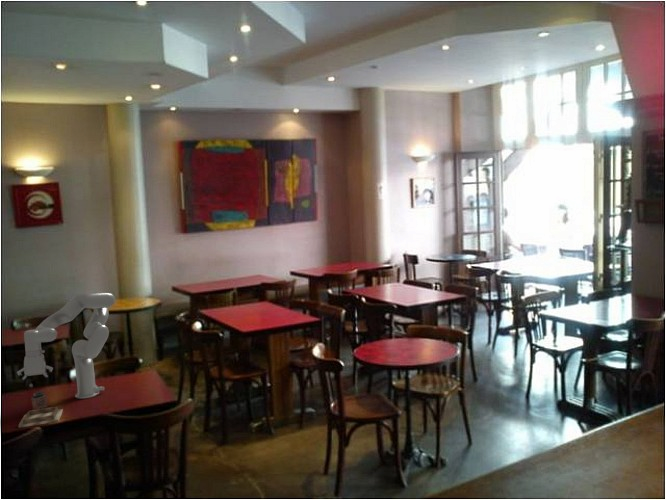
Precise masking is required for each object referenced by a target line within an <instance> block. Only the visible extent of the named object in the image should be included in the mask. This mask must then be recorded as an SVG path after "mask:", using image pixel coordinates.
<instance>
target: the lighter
mask: <svg viewBox="0 0 666 500" xmlns="http://www.w3.org/2000/svg"><path fill="white" fill-rule="evenodd" d="M32 395H33V397H31V398H30V399H31V404H32V410H38V409H45V408H49V406H48V400H47V399H48V398H47V396H48V395H47V394H46V393H45V390H43V389H42V390H40V391H36V392H35V393H33V394H32Z"/></svg>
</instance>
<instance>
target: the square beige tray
mask: <svg viewBox="0 0 666 500" xmlns="http://www.w3.org/2000/svg"><path fill="white" fill-rule="evenodd" d="M63 412H64V409H63V408H62V409H61V408H60V409H59V407H58V406H53V407H48V408H45V409H38V410H33V409H32V410H28V411H27V413H26V414H24V415H23V417H22V418H21V420H20V422H19V424H18V428H19V429H20V428H26V427H27V428H28V427H32V426H33V427H34V426H38V425H40V426H41V425H45V424H52V423H58V422H59V421H60V419H61V417H62V414H63Z"/></svg>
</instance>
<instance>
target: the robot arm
mask: <svg viewBox="0 0 666 500" xmlns="http://www.w3.org/2000/svg"><path fill="white" fill-rule="evenodd" d="M115 303H116V296H115V295H114V294H113V293H110V292H104V291H103V292H102V291H96V292H94V293H93V292H92V293H91V292H78V293H77V294H76V295H74V296H73V297H72V298H71V299H70V300H69V301H68V302H67V303H66V304H64V306H63V307H61V308H60V309H59V310H57V311H56V312H54V313H53V314H51V315H49V316H48V317H47V318H45V319H44V320H42V322H41V323H40V324H39V325H37V327H36V328H35V329H28V330H26V331H24V332H23V336H24V337H23V339H24V348H25V356H24V360H23V367H22V368H21V369H20V370H17V371H16V374H17V375H18V377H19V378H20V379H21V380H23V382H22V383H23V386H24V388H27V387H28V385H29V384H28V378H27V377H29V376H39V375H43V377H44V385H45V386H47V385H48V383H49V376H50V375H51V373H52V371H53V370H54V366H53V367H52V366H50V365H46V359H45V355H44V353H45V349H42V343H48V342H49V343H50V342H53V341H55V340H56V339H57V337H58V331H57V330H56V328H57V327H59V326H61V325H63V324H66V323H70V322H72V321H73V320H74V319H75V318H77V316H79V314H80V313H81V312H83V310H84V309H93V313H92V314H91V317H90V319H89V321H88V322H87V324H86V326H85V327H84V330H83V337H85V338H86V339H87V340H85V339H78V340H76V341H75V342H74V343H73V344H72V347H71V354H72V357H73V361H74V368H75V377H76V378H75V379H76V386H77V387H76V388H77V393H76V394H75V396H74V397H75V398H76V399H80V400H81V399H82V400H83V399H90V398H93V397H96V396H98V395H99V394H100V391H105V386H101V385H100V386H98V385H97V384H96V378H95V377H96V376H95V369H94V367H95V366H94V360H93V359H95V358H97V357H98V355H99V354H100V353H101V351H102V350H103V347H104V345H105V343H106V342H107V340H108V338H109V335H110V331H109V328H108V326H106V324H107V321H108V319H109V313H110V312H109V308H112V307H113V306H114V305H115ZM47 370H48V372H47ZM22 372H23V373H24V374H22Z"/></svg>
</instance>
